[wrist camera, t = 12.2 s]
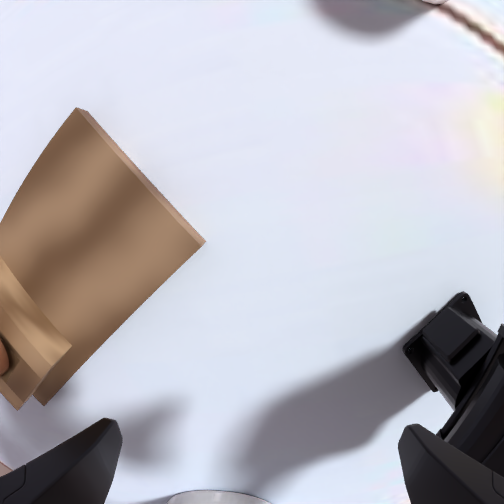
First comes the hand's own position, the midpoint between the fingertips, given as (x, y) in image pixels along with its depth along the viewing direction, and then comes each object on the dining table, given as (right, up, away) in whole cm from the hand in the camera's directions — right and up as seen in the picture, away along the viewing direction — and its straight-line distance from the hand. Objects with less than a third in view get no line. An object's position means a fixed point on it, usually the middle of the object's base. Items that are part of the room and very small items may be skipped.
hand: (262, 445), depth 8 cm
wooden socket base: (-15, +3, +12) cm, 20 cm away
